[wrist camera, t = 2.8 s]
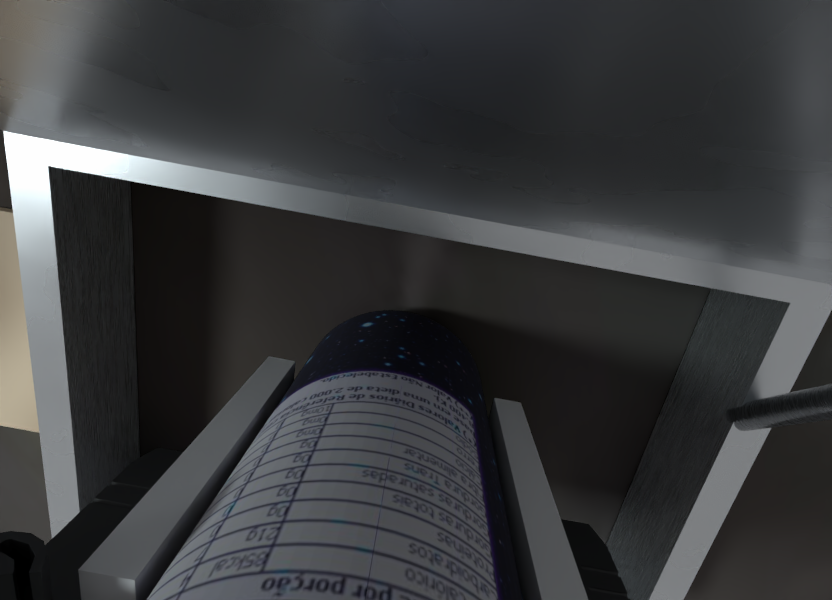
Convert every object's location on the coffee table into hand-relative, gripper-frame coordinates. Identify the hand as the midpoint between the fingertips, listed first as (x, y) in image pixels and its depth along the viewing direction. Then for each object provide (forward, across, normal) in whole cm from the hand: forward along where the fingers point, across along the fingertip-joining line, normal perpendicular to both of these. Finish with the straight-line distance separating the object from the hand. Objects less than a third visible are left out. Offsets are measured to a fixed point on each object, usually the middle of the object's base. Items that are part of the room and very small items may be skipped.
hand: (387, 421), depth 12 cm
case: (+2, 0, +2) cm, 3 cm away
